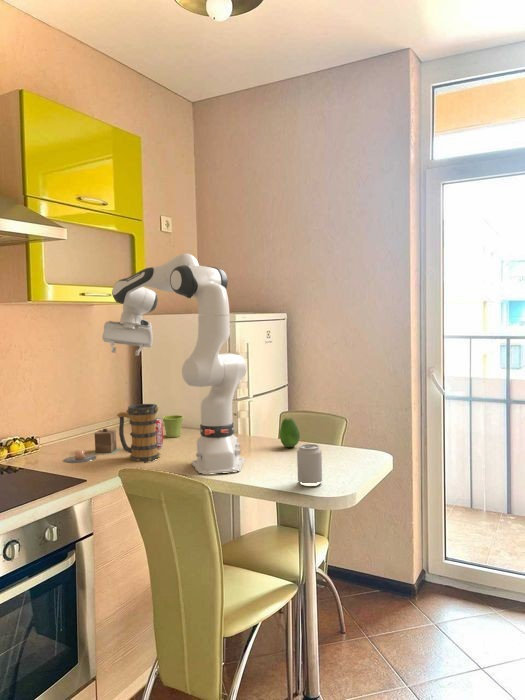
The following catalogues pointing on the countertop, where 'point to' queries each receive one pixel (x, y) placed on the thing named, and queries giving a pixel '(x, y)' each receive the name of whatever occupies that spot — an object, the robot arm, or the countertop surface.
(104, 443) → the cover box
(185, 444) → the countertop surface
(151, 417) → the mug
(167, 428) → the plant pot
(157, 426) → the soda can
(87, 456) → the slate board
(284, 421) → the avocado
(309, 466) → the can
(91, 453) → the mat
